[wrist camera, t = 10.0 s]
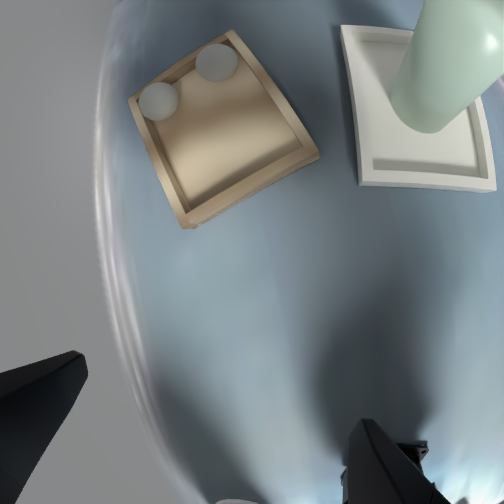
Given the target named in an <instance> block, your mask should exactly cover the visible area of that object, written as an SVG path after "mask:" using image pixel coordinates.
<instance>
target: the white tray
mask: <svg viewBox="0 0 504 504" xmlns="http://www.w3.org/2000/svg"><path fill="white" fill-rule="evenodd" d="M413 33H414V31H408V30H401V29H393V28H384V27H374V26H359V25H341V31H340V41H341V45H342V50H343V55H344V61H345V66H346V72H347V78H348V84H349V91H350V98H351V105H352V113H353V122H354V131H355V142H356V153H357V167H358V185H359V186H384V187H409V188H427V189H441V190H454V191H466V192H476V193H487V192H492V191H497V188H496V177H495V168H494V160H493V154H492V147H491V141H490V136H489V131H488V126H487V121H486V117H485V113H484V108H483V105H482V101H481V97H480V96H479V97H478V98H477V99H475V100H474V101H473V102H472V103H471V104H470V105H469V106H468V107H467V108H466V109H464V110H463V111H462V112H461V113H460V114H459V115H458V116H457V117H456V118H454V119H453V120H452V121H451V122H450V123H449V124H448V125H447V126H445V127H444V128H443V129H442V130H441V131H439V132H437V133H432V134H425V133H420V132H418V131H415V130H413V129H411V128H410V127H408V126H407V125H406V124H404V123H403V122H402V121H401V120H400V119H399V117H398V116H397V115H396V113H395V111H394V110H393V107H392V105H391V101H390V91H391V88H392V85H393V83H394V81H395V78H396V76H397V73H398V71H399V68H400V66H401V64H402V61H403V59H404V56H405V54H406V51H407V48H408V46H409V43H410V41H411V38H412V35H413Z"/></svg>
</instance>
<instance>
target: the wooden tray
mask: <svg viewBox="0 0 504 504" xmlns="http://www.w3.org/2000/svg"><path fill="white" fill-rule="evenodd" d="M212 44H223V45H226V46H228V47H230V48H231V49H233V50H234V52H235V53H236V55H237V58H238V67H237V70H236V71H235V73H234V74H233V75H232V76H231V77H230V78H228V79H227V80H224V81H221V82H211V81H207V80H205V79H203V78H202V77H201V76H200V75H199V74H198V72H197V70H196V66H195V62H196V58H197V55H198V54H199V52H200V51H201V50H202V49H203V48H205V47H207V46H209V45H212ZM157 82H164V83H168V84H170V85H171V86H173V87H174V88H175V89H176V91H177V93H178V96H179V104H178V107H177V109H176V111H175V112H174V113H173V114H172V115H171V116H170V117H168V118H166V119H164V120H160V121H155V120H150V119H148V118H146V117H145V116H144V115H143V114H142V112H141V111H140V108H139V98H140V95H141V93H142V92H143V90H144V89H145V88H146V87H148V86H149V85H151V84H153V83H157ZM127 101H128V104H129V106H130V109H131V112H132V114H133V117H134V119H135V122H136V124H137V127H138V129H139V132H140V134H141V137H142V139H143V142H144V144H145V146H146V149H147V151H148V154H149V156H150V158H151V161H152V163H153V166H154V168H155V170H156V173H157V175H158V177H159V179H160V182H161V184H162V186H163V189H164V191H165V193H166V195H167V198H168V200H169V202H170V204H171V206H172V209H173V211H174V213H175V215H176V217H177V219H178V222H179V224H180V226H181V228H182V229H191V228H196V227H198V226H200V225H201V224H203V223H205V222H206V221H208V220H210V219H211V218H213V217H215V216H216V215H218V214H220V213H222V212H223V211H225V210H227V209H228V208H230V207H232V206H234V205H235V204H237V203H239V202H241V201H242V200H244V199H246V198H248V197H249V196H251V195H253V194H255V193H257V192H258V191H260V190H262V189H264V188H266V187H267V186H269V185H271V184H273V183H275V182H276V181H278V180H280V179H282V178H284V177H286V176H288V175H289V174H291V173H293V172H295V171H297V170H299V169H301V168H303V167H304V166H306V165H308V164H310V163H312V162H314V161H316V160H318V159H320V157H319V150H318V148H317V146H316V145H315V143H314V142H313V140H312V138H311V137H310V135H309V134H308V132H307V130H306V129H305V127H304V126H303V124H302V123H301V121H300V119H299V118H298V116H297V115H296V113H295V112H294V110H293V109H292V107H291V106H290V104H289V103H288V101H287V100H286V99H285V97H284V96H283V94H282V93H281V91H280V90H279V89H278V87H277V86H276V84H275V83H274V82H273V80H272V79H271V77H270V76H269V75H268V73H267V72H266V71H265V69H264V68H263V67H262V65H261V64H260V63H259V61H258V60H257V59H256V58H255V56H254V55H253V54H252V52H251V51H250V50H249V49H248V47H247V46H246V45H245V44H244V42H243V41H242V40H241V39H240V38H239V36H238V35H237V34H236V33H235V32H234V30H233V29H232V30H230V31H228V32H226V33H224V34H222V35H221V36H219V37H217V38H215V39H214V40H212V41H210V42H208V43H207V44H205V45H203V46H202V47H200V48H198V49H197V50H195V51H194V52H192V53H190V54H189V55H187V56H186V57H184V58H183V59H181V60H180V61H178V62H177V63H175V64H174V65H172V66H171V67H169V68H168V69H167V70H165V71H164V72H162V73H161V74H160V75H158V76H157V77H156V78H154V79H153V80H152V81H150V82H149V83H148V84H146V85H145V86H144V87H142V88H141V89H140V90H139V91H137V92H136V93H135V94H134V95H132V96H131V97H130V98H129V99H128V100H127Z"/></svg>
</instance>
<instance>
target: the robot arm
mask: <svg viewBox="0 0 504 504" xmlns="http://www.w3.org/2000/svg"><path fill="white" fill-rule="evenodd" d="M87 377H88V369H87V365H86V360H85V356H84V355H83V354H82V353H79V352H77V351H74V350H73V351H70V352H66V353H63V354H60V355H57V356H54V357H51V358H48V359H44V360H41V361H38V362H35V363H32V364H28V365H25V366H22V367H19V368H16V369H12V370H8V371H5V372H2V373H0V504H15V503H16V501H17V499H18V497H19V495H20V493H21V492H22V490H23V489H22V488H24V486H25V484H26V482H27V480H28V479H29V477H30V475H31V473H32V472H33V470H34V468H35V466H36V465H37V463H38V461H39V460H40V457H41V456H42V455H43V453H44V451H45V450H46V448H47V447H48V445H49V443H50V442H51V440H52V439H53V437H54V435H55V434H56V432H57V431H58V429H59V427H60V426H61V424H62V423H63V421H64V420H65V418H66V417H67V415H68V413H69V412H70V410H71V408H72V407H73V405H74V403H75V401H76V399H77V396H78V395H79V393H80V391H81V389H82V387H83V385H84V383H85V381H86V379H87ZM423 450H424V451H423ZM428 451H429V449H428V447H427V446H422V445H405V444H395V443H394V442H393V441H392V440H391V439H390V437H389V436H388V435H387V434H386V433H385V432H384V431H383V430H382V429H381V427H380V426H379V425H378V424H377V423H376V422H375V421H374V420H373V419H365V418H362V419H360V420H359V421H358V422H357V424H356V426H355V427H354V429H353V430H352V432H351V433H350V436H349V445H348V468H347V471H346V472H345V474H344V475H343V479H342V480H341V485H342V486H343V504H451V503H450V502H449V501H448V500H447V499H446V498H445V497H444V496H443V495H442V494H441V493H440V492H439V491H438V489H437V487H436V485H435V482H433V483H431V482H430V481H429V480H428V479H427V478H426V477H425V476H424V474H423V470H422V466H421V463H420V462H421V460H422V459H423V458H424V456H425V455H426V454H427V453H428Z"/></svg>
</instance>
